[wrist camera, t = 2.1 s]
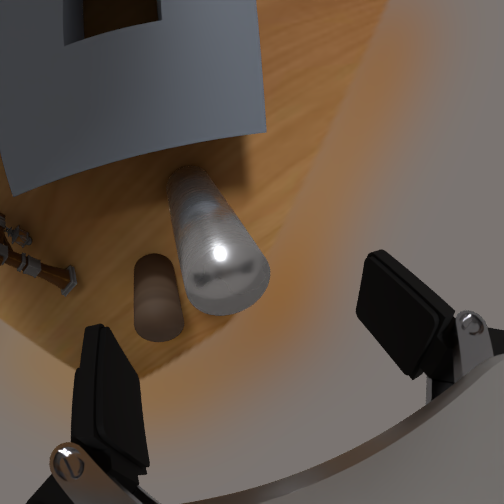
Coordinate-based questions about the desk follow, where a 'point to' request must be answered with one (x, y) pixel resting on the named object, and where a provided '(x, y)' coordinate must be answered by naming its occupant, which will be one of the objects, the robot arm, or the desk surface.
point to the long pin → (213, 246)
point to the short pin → (156, 299)
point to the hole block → (122, 84)
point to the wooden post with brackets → (32, 260)
